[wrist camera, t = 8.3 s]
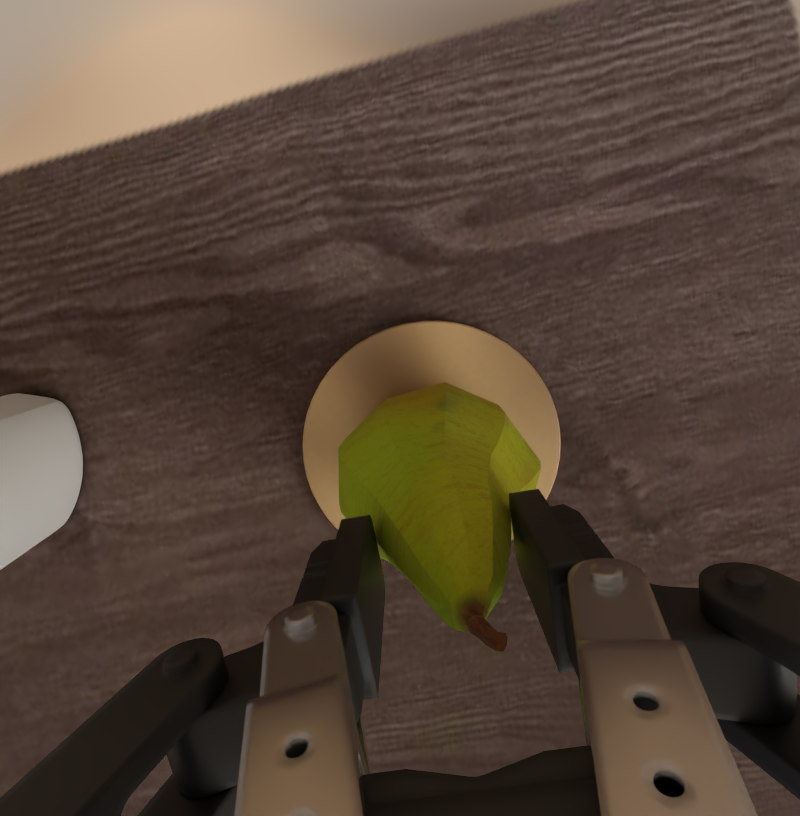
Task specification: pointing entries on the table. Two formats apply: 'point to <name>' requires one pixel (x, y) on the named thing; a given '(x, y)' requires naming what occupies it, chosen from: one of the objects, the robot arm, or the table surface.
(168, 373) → the table surface
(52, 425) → the eye dropper bottle
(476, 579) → the fruit
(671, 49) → the table surface
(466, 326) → the coaster
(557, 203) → the table surface
